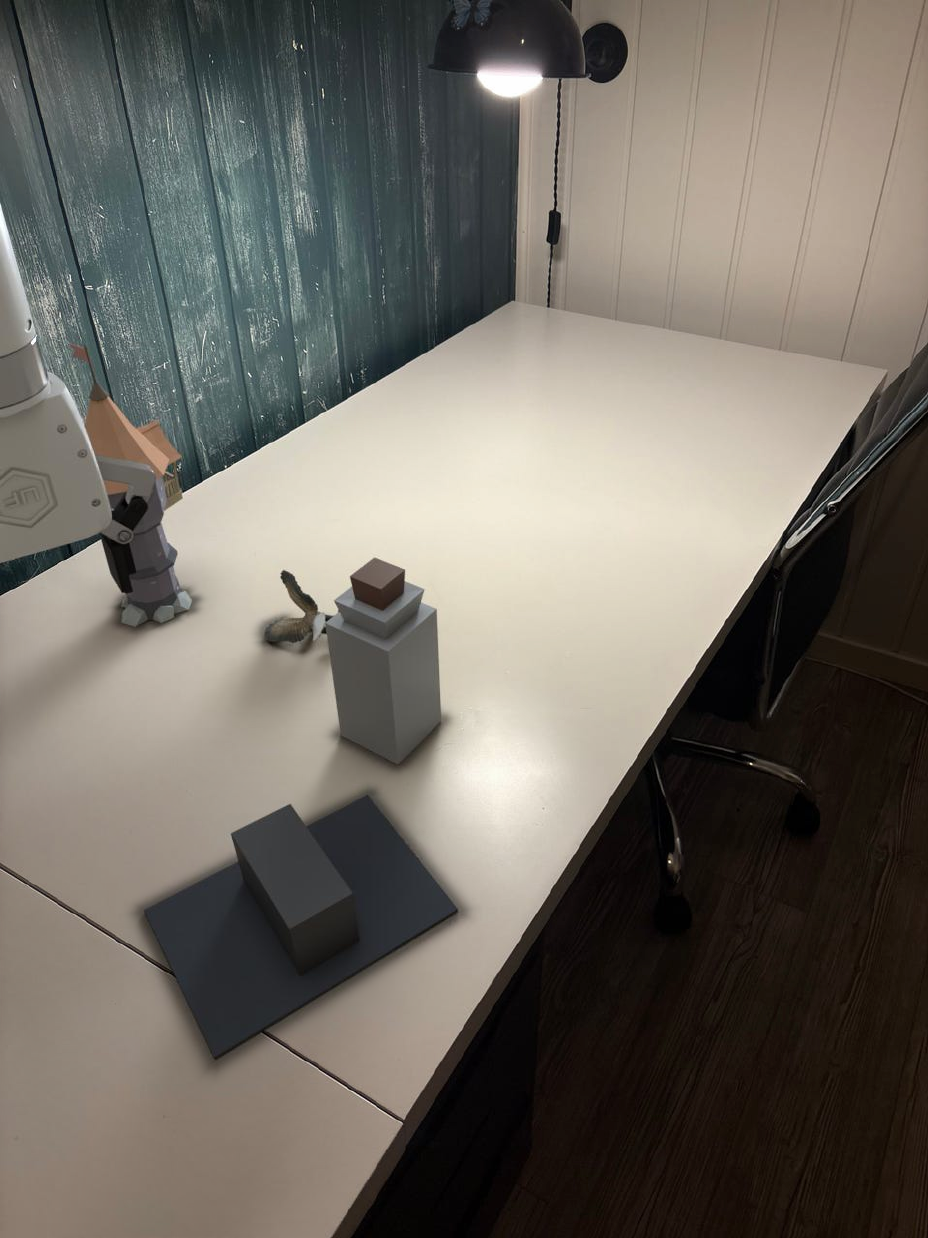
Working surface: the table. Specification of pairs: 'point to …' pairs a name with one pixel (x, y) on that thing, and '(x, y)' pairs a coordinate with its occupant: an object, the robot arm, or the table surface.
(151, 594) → the model tower
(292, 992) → the rubber mat
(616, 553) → the table surface
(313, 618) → the eagle figurine
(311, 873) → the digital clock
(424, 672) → the perfume bottle
